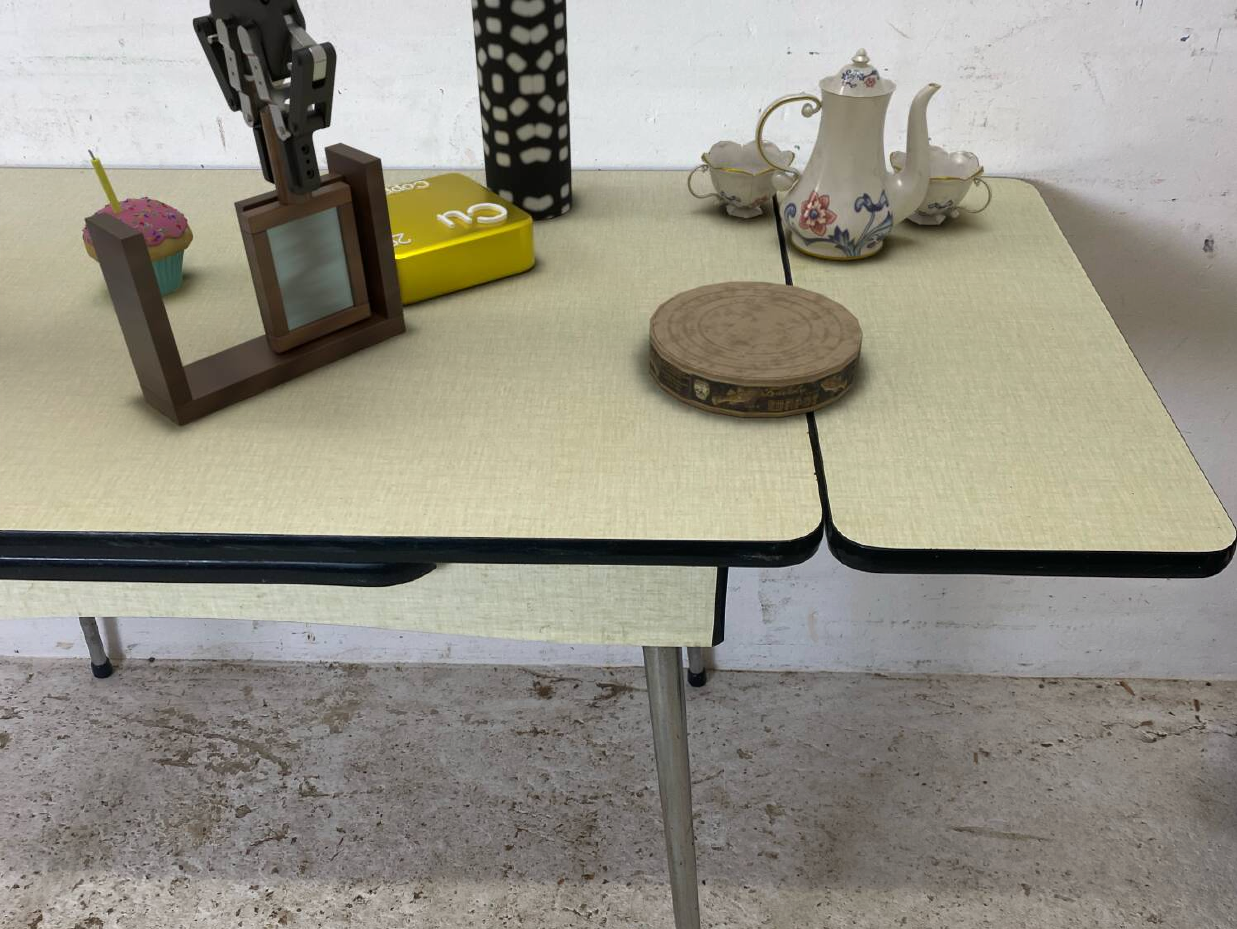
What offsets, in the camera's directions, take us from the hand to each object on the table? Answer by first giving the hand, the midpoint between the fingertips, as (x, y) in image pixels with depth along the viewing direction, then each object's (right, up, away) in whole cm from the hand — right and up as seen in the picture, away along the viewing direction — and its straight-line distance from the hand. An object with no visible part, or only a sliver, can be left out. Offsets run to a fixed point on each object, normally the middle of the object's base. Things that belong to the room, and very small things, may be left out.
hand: (293, 184), depth 76 cm
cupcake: (-17, -2, +18) cm, 25 cm away
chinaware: (+43, +6, +27) cm, 51 cm away
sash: (0, -8, +7) cm, 11 cm away
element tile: (+6, +2, +22) cm, 23 cm away
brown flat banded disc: (+33, -11, +7) cm, 36 cm away
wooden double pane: (-3, -11, +7) cm, 13 cm away
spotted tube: (+14, +10, +31) cm, 36 cm away
